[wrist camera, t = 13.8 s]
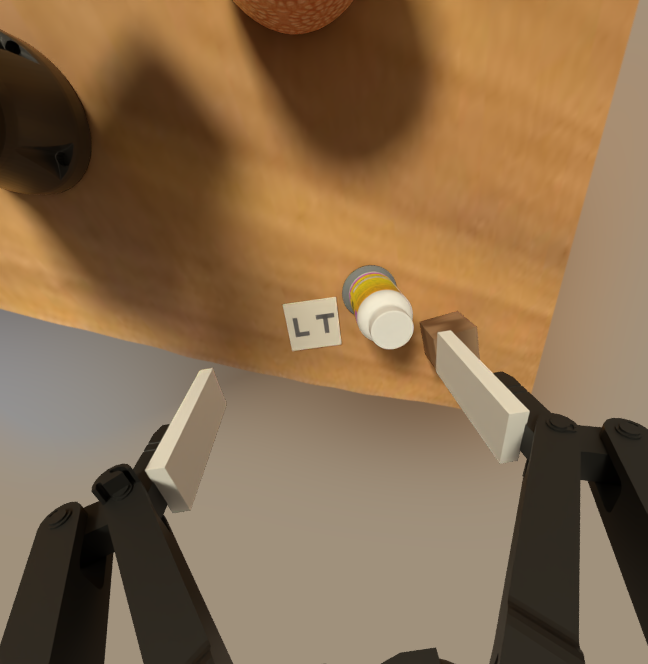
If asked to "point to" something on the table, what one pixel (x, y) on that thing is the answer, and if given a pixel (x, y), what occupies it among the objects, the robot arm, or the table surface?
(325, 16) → the planter
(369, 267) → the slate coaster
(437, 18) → the table surface
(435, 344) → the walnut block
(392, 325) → the supplement bottle
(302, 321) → the tile
